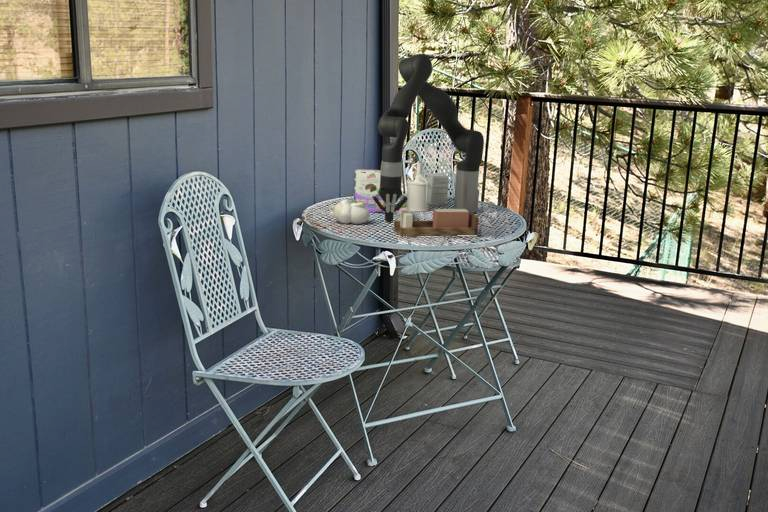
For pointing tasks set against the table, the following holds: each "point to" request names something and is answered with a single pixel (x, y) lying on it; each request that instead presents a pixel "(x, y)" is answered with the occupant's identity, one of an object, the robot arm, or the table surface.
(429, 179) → the supplement box
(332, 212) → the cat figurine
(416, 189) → the white bottle
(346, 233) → the table surface
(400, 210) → the rabbit figure
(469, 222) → the book rack
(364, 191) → the candy box
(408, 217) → the bookend
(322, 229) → the table surface
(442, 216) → the book
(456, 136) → the robot arm
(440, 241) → the table surface
